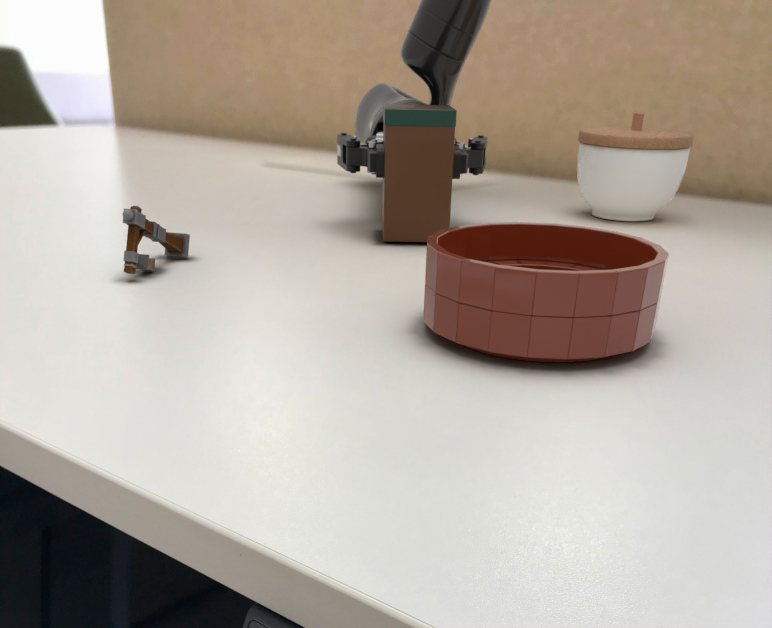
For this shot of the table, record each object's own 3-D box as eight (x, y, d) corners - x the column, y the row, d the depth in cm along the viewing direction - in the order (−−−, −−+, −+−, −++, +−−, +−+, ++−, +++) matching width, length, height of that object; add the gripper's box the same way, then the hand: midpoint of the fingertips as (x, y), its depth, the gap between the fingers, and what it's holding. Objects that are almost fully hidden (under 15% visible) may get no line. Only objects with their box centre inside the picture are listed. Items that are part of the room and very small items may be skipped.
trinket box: (612, 229, 76) (630, 117, 72) (548, 209, 85) (559, 109, 80) (701, 222, 80) (722, 116, 76) (630, 204, 89) (646, 108, 84)
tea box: (381, 228, 73) (383, 103, 68) (443, 229, 73) (449, 105, 68) (382, 241, 68) (384, 108, 63) (449, 242, 69) (456, 109, 64)
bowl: (502, 290, 56) (509, 214, 54) (687, 331, 49) (706, 245, 46) (377, 332, 47) (379, 243, 45) (580, 389, 40) (596, 287, 38)
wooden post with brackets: (108, 268, 55) (113, 199, 54) (163, 290, 63) (168, 229, 62) (133, 270, 55) (138, 201, 54) (185, 292, 63) (190, 231, 62)
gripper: (334, 98, 78) (328, 110, 63) (483, 101, 79) (512, 114, 64) (335, 181, 82) (330, 212, 67) (477, 184, 82) (503, 214, 68)
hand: (419, 164), depth 66 cm, fingers closed on tea box, 5 cm apart
